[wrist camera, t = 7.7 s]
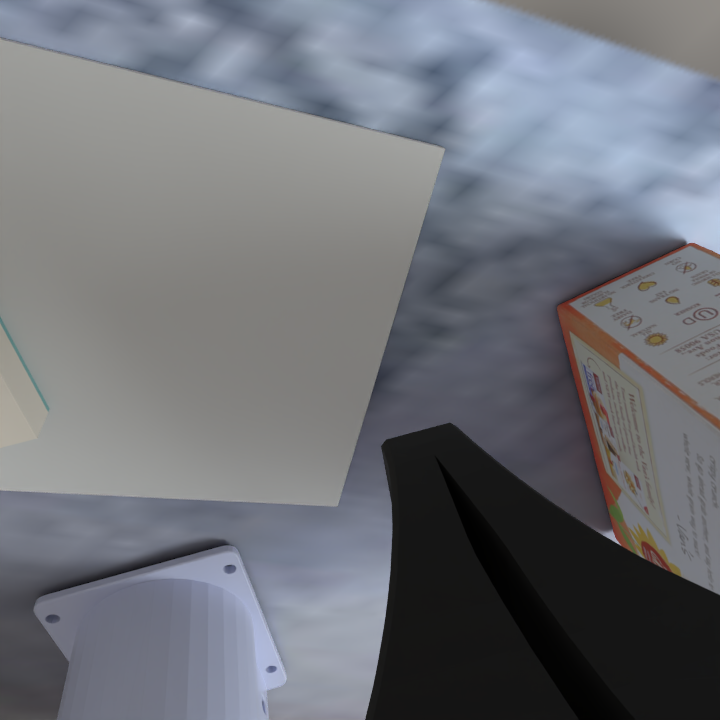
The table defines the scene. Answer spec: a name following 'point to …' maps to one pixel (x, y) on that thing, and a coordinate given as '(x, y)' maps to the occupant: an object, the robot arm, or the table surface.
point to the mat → (195, 281)
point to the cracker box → (655, 406)
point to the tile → (18, 396)
